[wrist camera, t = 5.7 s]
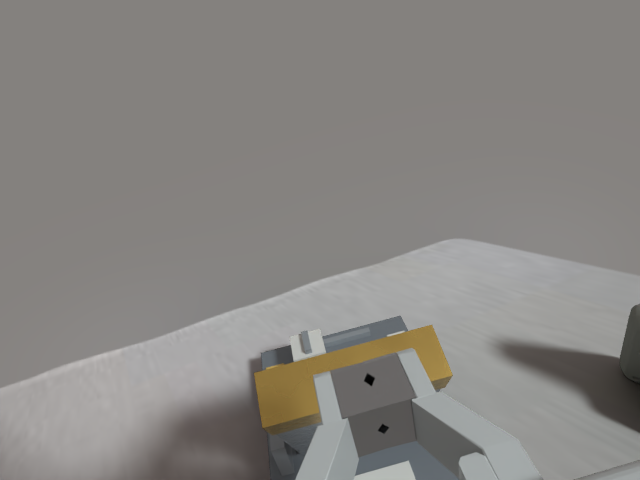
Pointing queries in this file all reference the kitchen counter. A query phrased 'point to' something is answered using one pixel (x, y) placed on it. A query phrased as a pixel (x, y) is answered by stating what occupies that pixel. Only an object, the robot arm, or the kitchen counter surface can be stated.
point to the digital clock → (632, 346)
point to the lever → (297, 377)
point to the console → (373, 469)
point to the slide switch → (307, 345)
